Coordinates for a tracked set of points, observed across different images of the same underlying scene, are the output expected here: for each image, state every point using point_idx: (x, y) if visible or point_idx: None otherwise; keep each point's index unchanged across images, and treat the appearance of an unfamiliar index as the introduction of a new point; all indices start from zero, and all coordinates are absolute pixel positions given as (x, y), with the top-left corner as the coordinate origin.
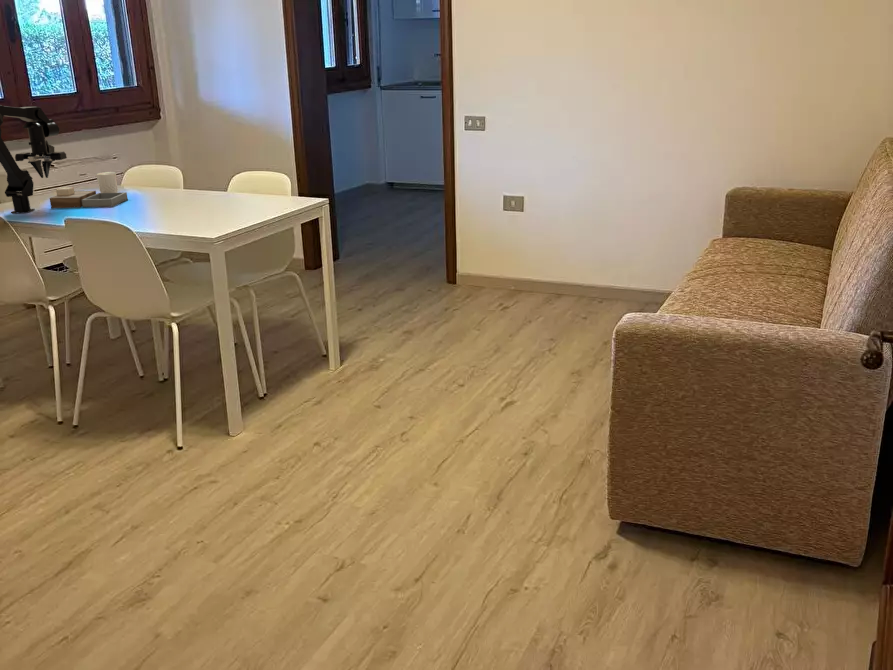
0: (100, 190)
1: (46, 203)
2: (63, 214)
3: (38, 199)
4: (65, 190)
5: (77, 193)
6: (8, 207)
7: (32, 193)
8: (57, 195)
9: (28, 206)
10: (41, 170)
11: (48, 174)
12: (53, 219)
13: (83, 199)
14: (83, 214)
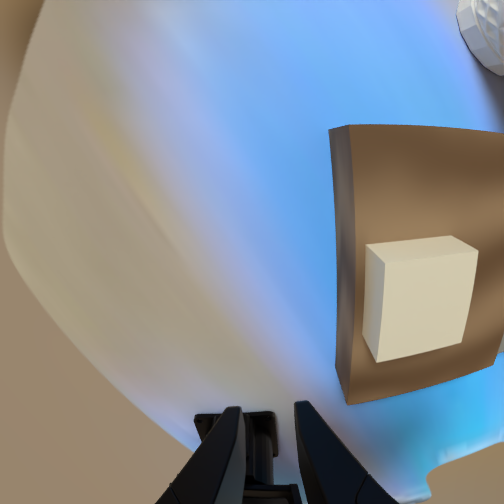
0: (501, 51)
1: (207, 229)
2: (429, 441)
3: (60, 93)
4: (440, 341)
5: (470, 245)
6: (74, 340)
7: (297, 490)
8: (365, 334)
9: (272, 454)
10: (229, 492)
11: (325, 424)
12: (414, 479)
13: (501, 345)
14: (482, 424)
